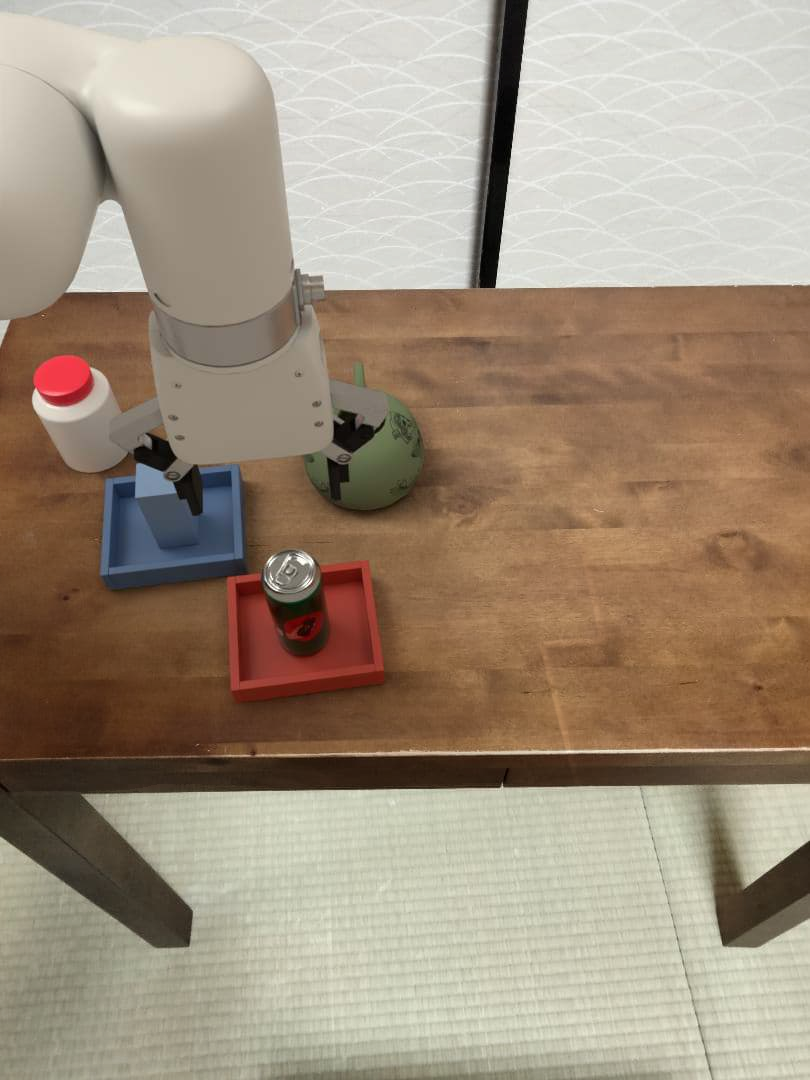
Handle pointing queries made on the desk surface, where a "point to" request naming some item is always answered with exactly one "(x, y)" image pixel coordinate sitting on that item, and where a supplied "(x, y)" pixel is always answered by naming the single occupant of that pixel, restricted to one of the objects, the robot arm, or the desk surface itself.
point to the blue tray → (143, 563)
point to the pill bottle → (77, 413)
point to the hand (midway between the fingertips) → (266, 491)
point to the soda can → (296, 601)
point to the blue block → (165, 509)
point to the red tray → (279, 673)
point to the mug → (375, 459)
